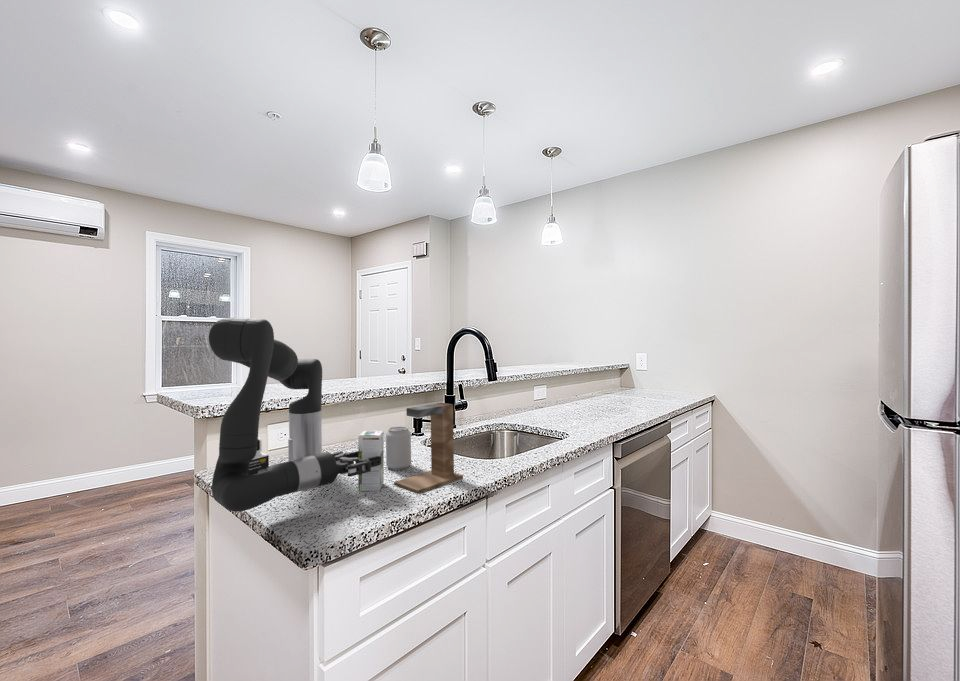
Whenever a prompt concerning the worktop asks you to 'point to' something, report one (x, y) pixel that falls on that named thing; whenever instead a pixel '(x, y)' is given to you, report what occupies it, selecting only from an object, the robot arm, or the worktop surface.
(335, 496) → the worktop surface
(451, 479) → the keeper bracket
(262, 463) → the medicine bottle
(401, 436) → the can
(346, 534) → the worktop surface
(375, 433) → the syrup box
